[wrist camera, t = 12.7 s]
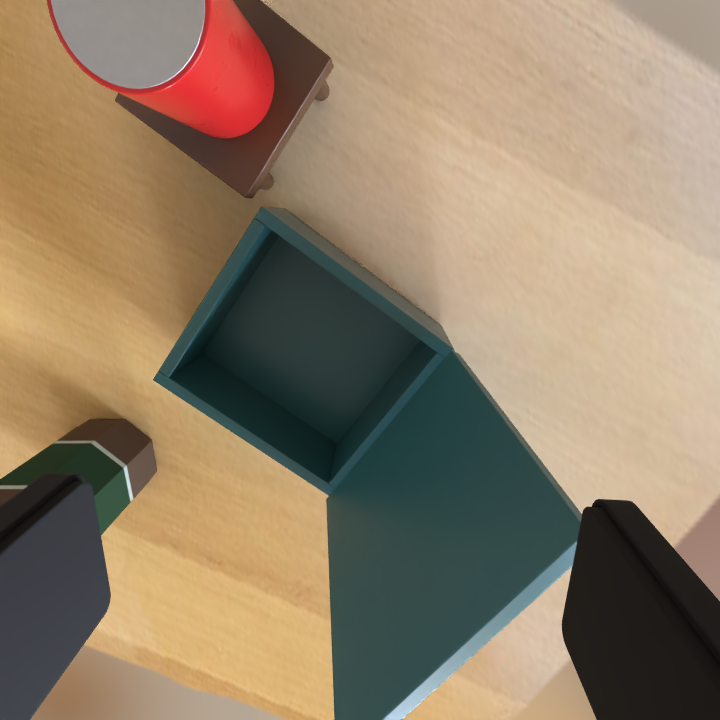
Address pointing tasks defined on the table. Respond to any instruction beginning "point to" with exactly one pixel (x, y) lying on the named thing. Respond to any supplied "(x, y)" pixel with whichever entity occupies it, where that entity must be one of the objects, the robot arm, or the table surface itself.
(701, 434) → the table surface
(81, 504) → the robot arm
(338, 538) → the lid
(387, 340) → the teal open box
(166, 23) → the soda can
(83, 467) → the beer bottle
